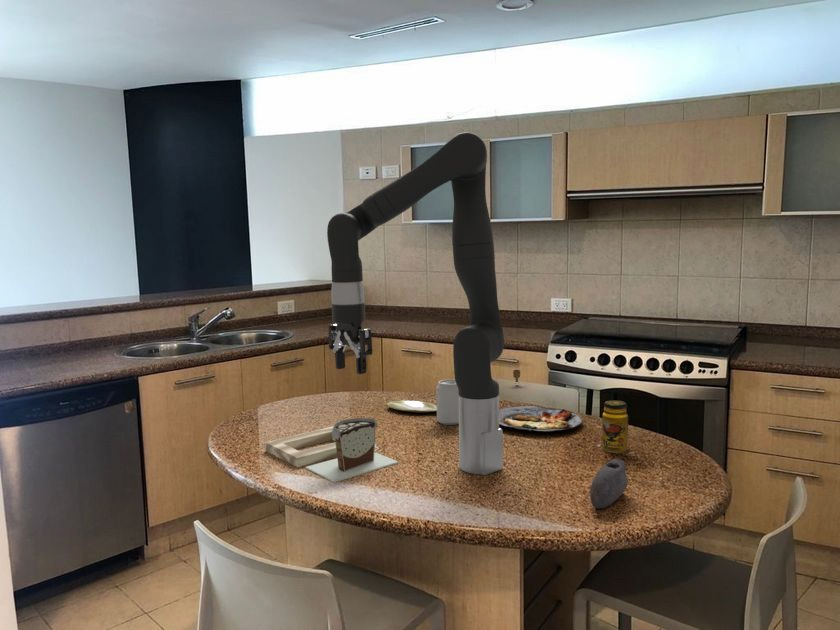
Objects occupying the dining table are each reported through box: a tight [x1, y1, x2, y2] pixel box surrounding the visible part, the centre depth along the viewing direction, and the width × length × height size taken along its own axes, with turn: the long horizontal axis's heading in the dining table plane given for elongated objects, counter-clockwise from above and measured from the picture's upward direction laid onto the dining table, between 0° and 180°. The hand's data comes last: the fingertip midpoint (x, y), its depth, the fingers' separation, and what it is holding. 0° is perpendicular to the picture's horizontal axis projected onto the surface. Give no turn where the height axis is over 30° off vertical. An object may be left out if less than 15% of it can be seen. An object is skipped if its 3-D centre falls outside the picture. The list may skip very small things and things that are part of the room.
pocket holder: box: [265, 425, 337, 468], centre depth 170 cm, size 16×20×2 cm
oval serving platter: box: [386, 400, 437, 414], centre depth 202 cm, size 35×11×2 cm, turn 61°
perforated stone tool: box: [589, 458, 629, 510], centre depth 135 cm, size 15×5×7 cm, turn 144°
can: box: [435, 379, 459, 426], centre depth 192 cm, size 8×8×12 cm
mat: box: [305, 451, 399, 483], centre depth 158 cm, size 12×18×1 cm, turn 130°
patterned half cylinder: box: [332, 417, 378, 472], centre depth 158 cm, size 12×6×10 cm, turn 138°
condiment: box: [596, 400, 635, 454], centre depth 166 cm, size 7×8×12 cm
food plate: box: [499, 405, 584, 433], centre depth 189 cm, size 25×23×4 cm
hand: (350, 371), depth 156 cm, fingers open, 8 cm apart
